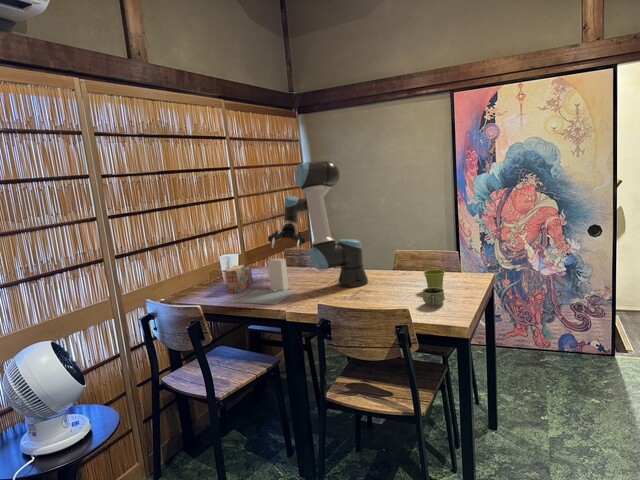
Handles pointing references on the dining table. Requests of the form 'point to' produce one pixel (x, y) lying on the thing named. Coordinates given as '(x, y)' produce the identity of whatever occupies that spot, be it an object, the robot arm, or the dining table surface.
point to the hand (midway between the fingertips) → (284, 246)
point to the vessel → (433, 297)
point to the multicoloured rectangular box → (238, 278)
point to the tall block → (278, 274)
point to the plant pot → (434, 278)
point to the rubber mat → (266, 297)
